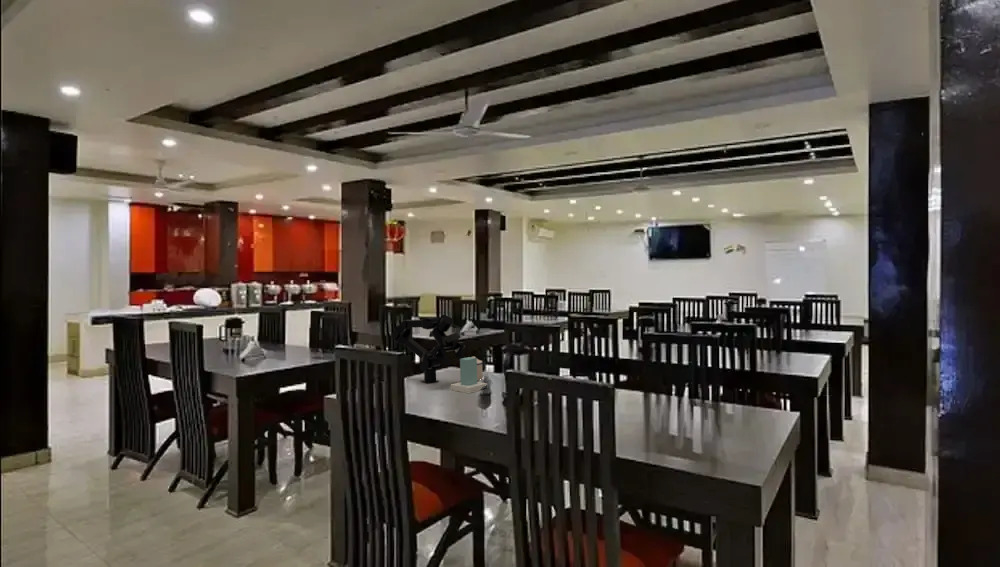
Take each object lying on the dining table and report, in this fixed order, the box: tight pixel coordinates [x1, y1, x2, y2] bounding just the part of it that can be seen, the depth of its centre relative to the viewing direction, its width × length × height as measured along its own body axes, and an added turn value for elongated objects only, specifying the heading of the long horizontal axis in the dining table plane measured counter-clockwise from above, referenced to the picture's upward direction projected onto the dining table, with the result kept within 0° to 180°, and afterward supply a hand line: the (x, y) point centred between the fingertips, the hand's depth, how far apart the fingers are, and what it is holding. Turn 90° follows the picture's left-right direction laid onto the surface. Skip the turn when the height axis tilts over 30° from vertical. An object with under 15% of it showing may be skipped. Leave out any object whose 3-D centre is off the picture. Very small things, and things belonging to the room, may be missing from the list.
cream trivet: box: [450, 381, 488, 394], centre depth 278 cm, size 12×12×2 cm
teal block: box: [459, 356, 478, 386], centre depth 278 cm, size 5×6×12 cm
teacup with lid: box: [471, 356, 484, 382], centre depth 301 cm, size 12×9×12 cm
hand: (457, 363), depth 283 cm, fingers open, 9 cm apart
